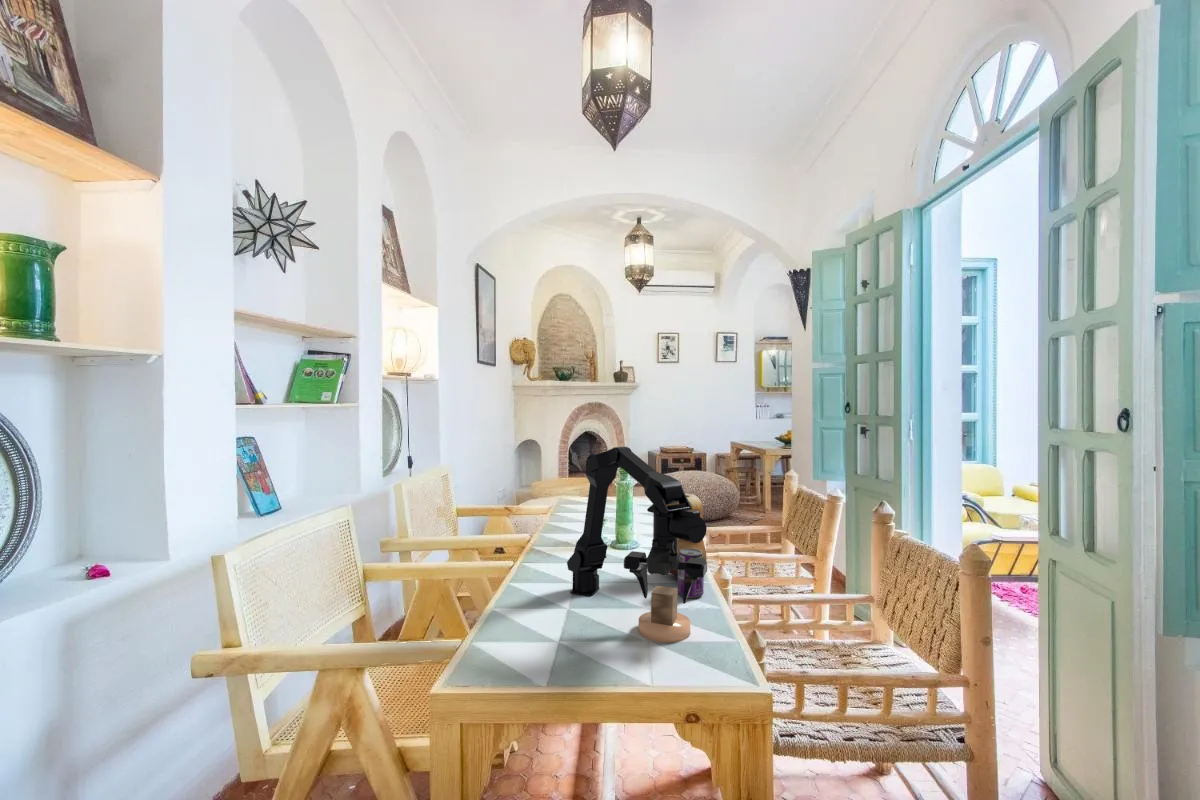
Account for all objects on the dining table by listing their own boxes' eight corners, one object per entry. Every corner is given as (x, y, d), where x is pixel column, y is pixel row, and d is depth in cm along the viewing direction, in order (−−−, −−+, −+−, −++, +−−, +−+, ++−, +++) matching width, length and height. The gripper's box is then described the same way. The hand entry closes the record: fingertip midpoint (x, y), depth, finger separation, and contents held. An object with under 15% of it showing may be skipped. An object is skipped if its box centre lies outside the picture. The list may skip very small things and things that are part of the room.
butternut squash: (658, 583, 168) (659, 497, 167) (660, 569, 181) (661, 489, 181) (707, 586, 166) (708, 499, 165) (705, 571, 179) (706, 491, 178)
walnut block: (650, 622, 133) (651, 592, 133) (656, 614, 138) (656, 585, 137) (672, 626, 131) (672, 595, 131) (677, 617, 136) (677, 588, 136)
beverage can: (703, 600, 154) (703, 556, 154) (676, 598, 156) (676, 554, 155) (703, 591, 161) (704, 548, 161) (678, 589, 163) (678, 547, 162)
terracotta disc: (632, 639, 131) (632, 626, 131) (646, 619, 142) (646, 607, 142) (684, 648, 127) (684, 634, 127) (694, 627, 138) (694, 614, 138)
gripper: (616, 538, 129) (615, 607, 130) (699, 546, 123) (698, 619, 123) (630, 527, 140) (630, 591, 140) (708, 534, 134) (707, 601, 134)
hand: (664, 600), depth 134 cm, fingers open, 9 cm apart
